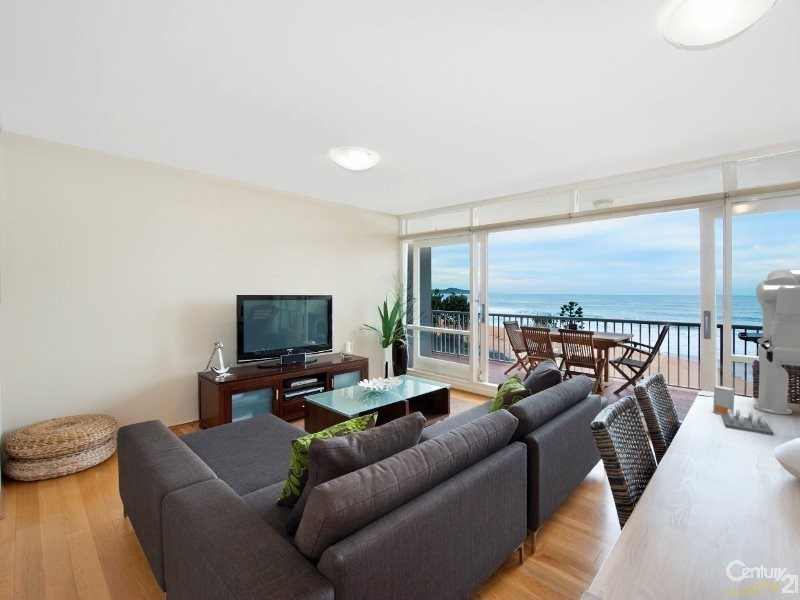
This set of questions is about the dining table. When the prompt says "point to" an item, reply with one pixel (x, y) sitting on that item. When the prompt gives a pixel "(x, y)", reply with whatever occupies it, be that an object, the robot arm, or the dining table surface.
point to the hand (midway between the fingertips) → (787, 363)
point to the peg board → (746, 422)
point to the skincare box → (723, 400)
